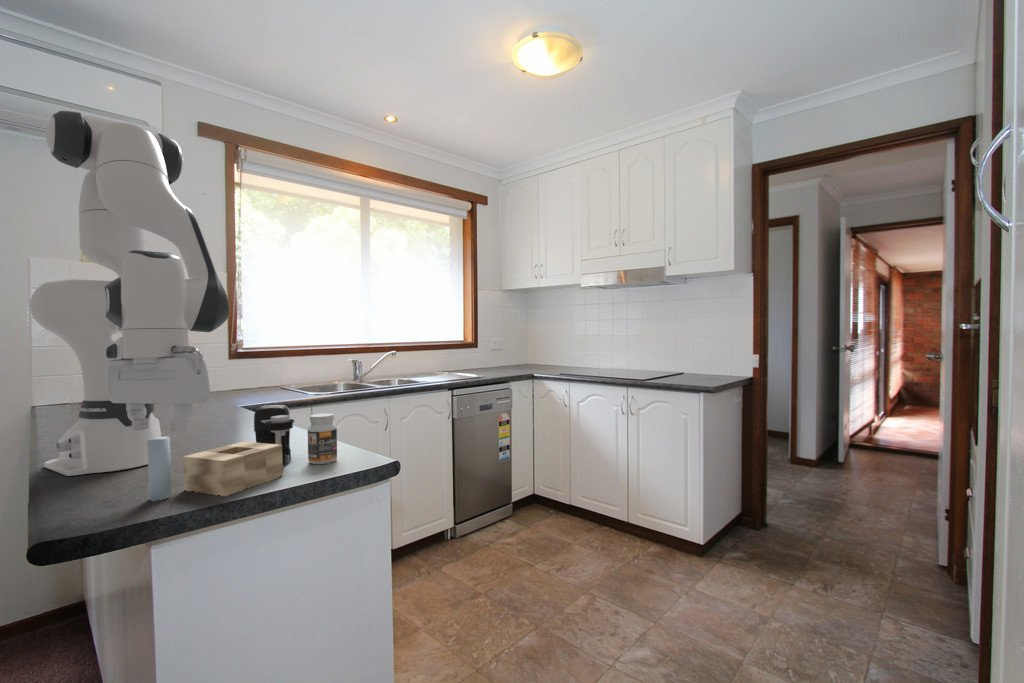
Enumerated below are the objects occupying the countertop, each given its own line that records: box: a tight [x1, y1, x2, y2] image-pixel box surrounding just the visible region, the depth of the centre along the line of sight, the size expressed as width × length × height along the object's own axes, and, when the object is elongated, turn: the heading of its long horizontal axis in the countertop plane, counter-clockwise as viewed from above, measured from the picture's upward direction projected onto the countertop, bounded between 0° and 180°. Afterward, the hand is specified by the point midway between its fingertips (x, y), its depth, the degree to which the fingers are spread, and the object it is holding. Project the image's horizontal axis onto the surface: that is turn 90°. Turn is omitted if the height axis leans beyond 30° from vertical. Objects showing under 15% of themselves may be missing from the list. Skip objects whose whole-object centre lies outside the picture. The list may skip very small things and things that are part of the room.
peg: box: [147, 436, 172, 502], centre depth 80 cm, size 3×3×10 cm
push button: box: [266, 415, 295, 466], centre depth 100 cm, size 7×5×10 cm
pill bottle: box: [307, 412, 338, 465], centre depth 102 cm, size 6×6×10 cm
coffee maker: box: [253, 404, 291, 449], centre depth 105 cm, size 7×4×11 cm, turn 107°
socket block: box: [182, 441, 284, 497], centre depth 88 cm, size 10×12×6 cm
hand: (159, 430), depth 79 cm, fingers open, 8 cm apart
